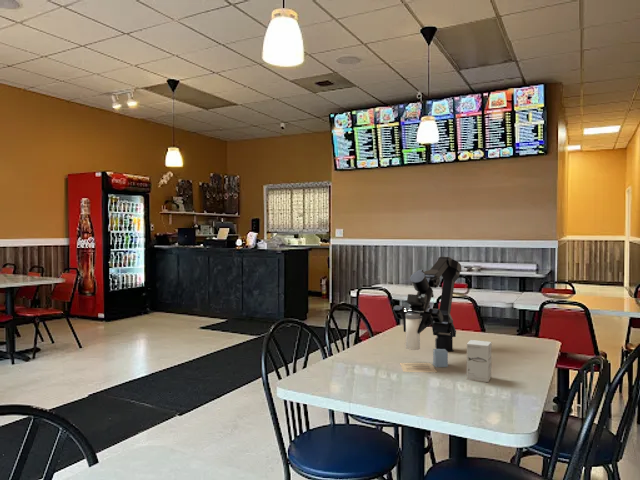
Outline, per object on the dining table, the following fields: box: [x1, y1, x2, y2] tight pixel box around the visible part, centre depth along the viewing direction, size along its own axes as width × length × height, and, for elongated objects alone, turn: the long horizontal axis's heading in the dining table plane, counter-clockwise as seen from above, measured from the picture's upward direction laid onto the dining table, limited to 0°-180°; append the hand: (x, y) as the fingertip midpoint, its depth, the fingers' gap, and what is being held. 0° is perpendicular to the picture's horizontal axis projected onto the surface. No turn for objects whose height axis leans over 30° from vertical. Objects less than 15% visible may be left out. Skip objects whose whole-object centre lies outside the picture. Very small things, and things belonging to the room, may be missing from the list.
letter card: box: [399, 362, 438, 373], centre depth 182 cm, size 12×12×1 cm
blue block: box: [432, 348, 449, 368], centre depth 185 cm, size 4×4×6 cm
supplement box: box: [466, 339, 493, 383], centre depth 169 cm, size 7×7×13 cm
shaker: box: [405, 313, 421, 351], centre depth 183 cm, size 5×5×13 cm
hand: (411, 332), depth 182 cm, fingers closed on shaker, 5 cm apart
